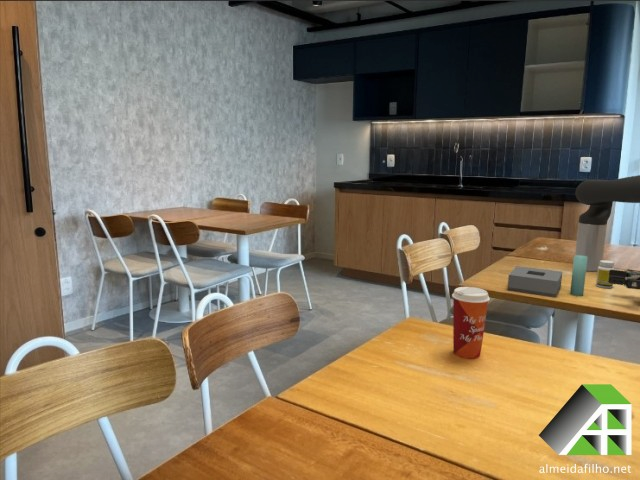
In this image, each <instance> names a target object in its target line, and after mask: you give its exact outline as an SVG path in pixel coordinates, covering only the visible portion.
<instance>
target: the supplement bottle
mask: <svg viewBox="0 0 640 480" xmlns="http://www.w3.org/2000/svg"><path fill="white" fill-rule="evenodd" d="M614 267H615V261H612V260H604V259H603V260H601V261H600V266H599V267H598V271H596V272H597V273H596V281H595V285H596V287H597V288H601V289H602V288H603V289H612V288H613V286H614V284H611V283H609V282H608V281H609V271H610V270H616V269H615V268H614Z"/></svg>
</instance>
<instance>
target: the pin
mask: <svg viewBox="0 0 640 480" xmlns="http://www.w3.org/2000/svg"><path fill="white" fill-rule="evenodd" d="M587 258H588V257H587V256H583V255H574V256H573V262H572V263H573V264H572V274H571V283H570V291H569V294H570V295H572V296H576V297H583V296H584V292H585V283H586V274H587V271H586V266H587Z"/></svg>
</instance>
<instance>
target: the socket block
mask: <svg viewBox="0 0 640 480" xmlns="http://www.w3.org/2000/svg"><path fill="white" fill-rule="evenodd" d="M562 278H563V271H561V270H551V269H545V268H544V269H543V268H535V267H527V266H518V265H516V266H515V267H514V268H513V269H512V271H511V272H510V273H509V274H508V278H507V279H508V280H507V291H509V292H517V293H524V294H530V295H537V296H544V297H549V298H550V297H551V298H557V296H558V294H559V292H560V290H561V288H562V281H563V279H562Z"/></svg>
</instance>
